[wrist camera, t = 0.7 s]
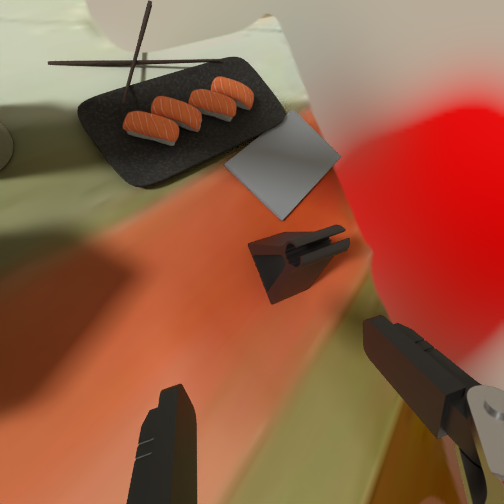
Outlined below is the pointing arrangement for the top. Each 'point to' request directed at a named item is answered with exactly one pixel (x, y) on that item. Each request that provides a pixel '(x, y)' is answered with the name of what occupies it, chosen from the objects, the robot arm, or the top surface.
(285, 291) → the phone stand
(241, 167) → the mat
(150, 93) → the sushi plate
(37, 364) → the top surface
